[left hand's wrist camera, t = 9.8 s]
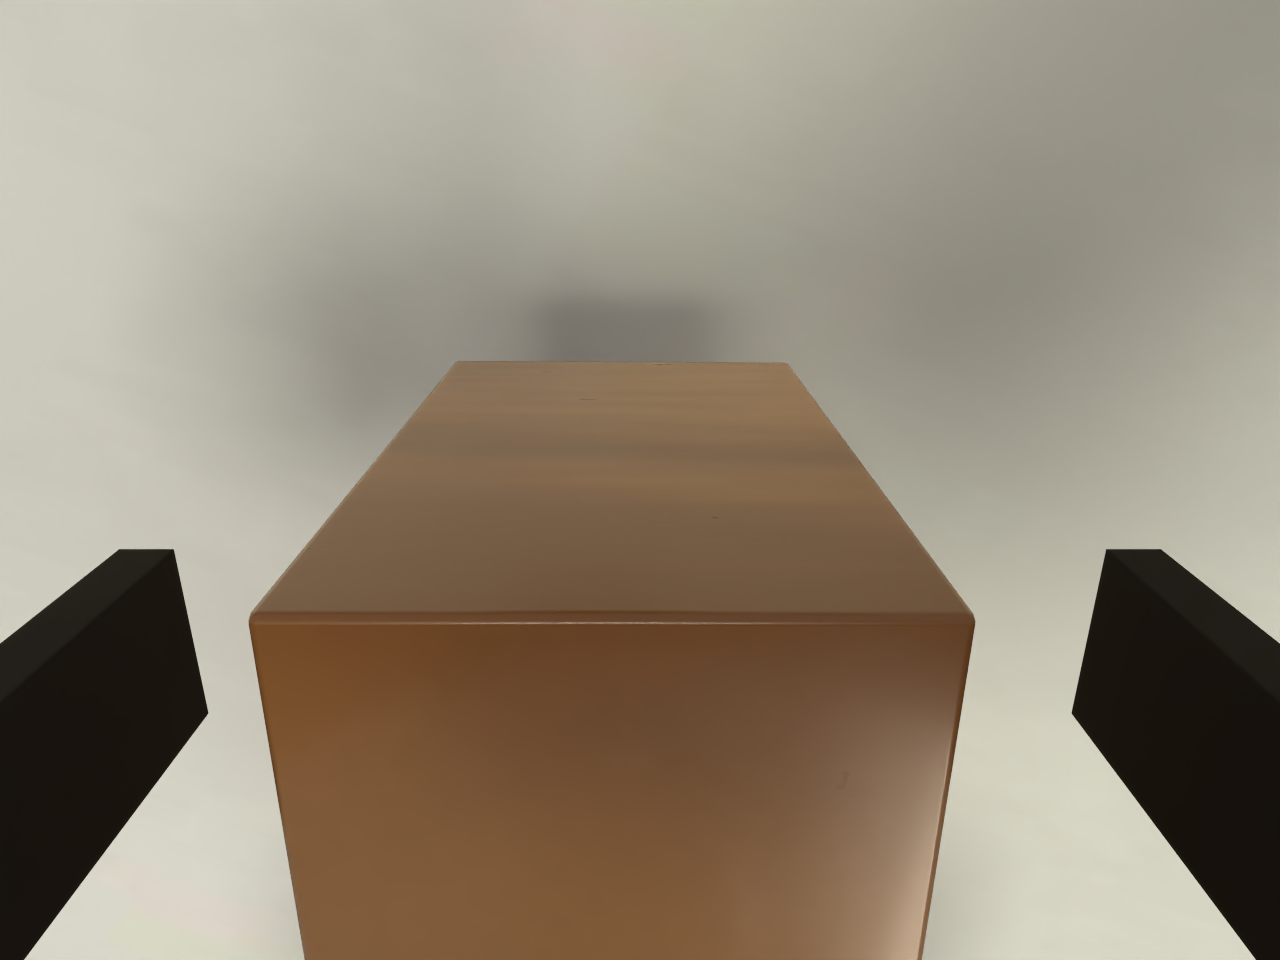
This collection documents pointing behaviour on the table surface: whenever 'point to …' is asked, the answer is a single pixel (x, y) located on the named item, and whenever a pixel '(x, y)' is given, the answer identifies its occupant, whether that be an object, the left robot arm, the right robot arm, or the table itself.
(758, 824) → the bar
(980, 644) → the table surface
